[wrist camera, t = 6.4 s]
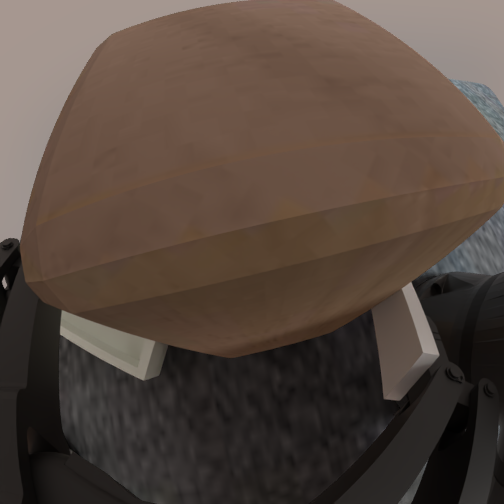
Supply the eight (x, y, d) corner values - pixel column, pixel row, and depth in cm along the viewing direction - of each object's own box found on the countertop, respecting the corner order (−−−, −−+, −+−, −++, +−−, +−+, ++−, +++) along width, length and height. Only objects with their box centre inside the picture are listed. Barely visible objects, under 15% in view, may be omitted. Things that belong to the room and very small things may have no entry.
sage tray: (209, 224, 25) (202, 207, 22) (159, 375, 22) (143, 380, 18) (94, 195, 27) (79, 180, 24) (48, 315, 23) (28, 311, 20)
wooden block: (219, 361, 21) (-9, 305, 2) (198, 250, 25) (93, 37, 6) (339, 330, 21) (543, 177, 3) (305, 225, 25) (343, -3, 7)
